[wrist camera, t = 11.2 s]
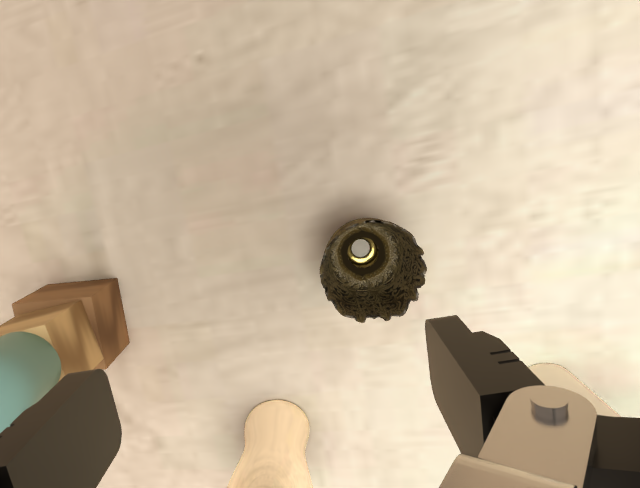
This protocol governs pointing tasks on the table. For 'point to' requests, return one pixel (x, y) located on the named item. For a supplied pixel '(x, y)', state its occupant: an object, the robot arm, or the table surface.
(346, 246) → the cup
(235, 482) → the beer glass
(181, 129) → the table surface
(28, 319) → the top block
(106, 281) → the base block
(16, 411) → the cylinder
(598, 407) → the cylindrical container
